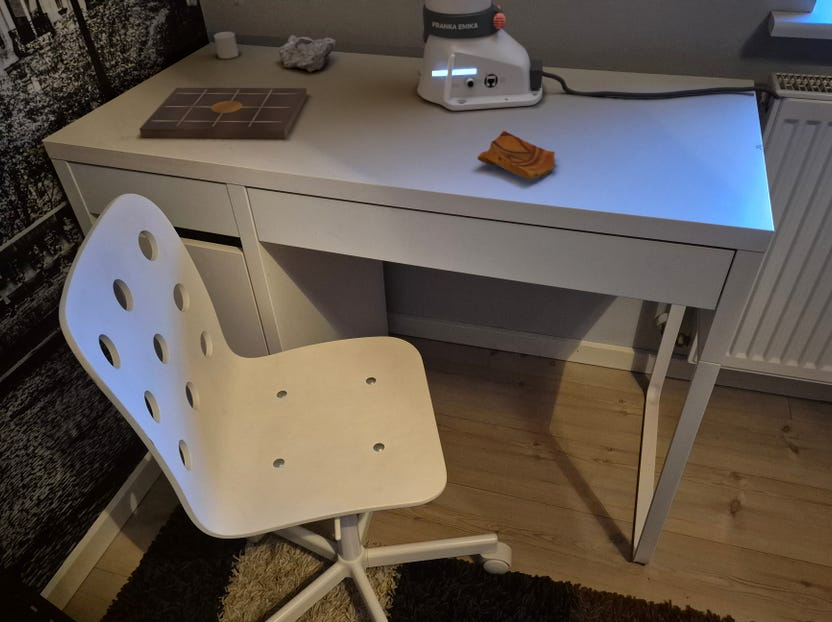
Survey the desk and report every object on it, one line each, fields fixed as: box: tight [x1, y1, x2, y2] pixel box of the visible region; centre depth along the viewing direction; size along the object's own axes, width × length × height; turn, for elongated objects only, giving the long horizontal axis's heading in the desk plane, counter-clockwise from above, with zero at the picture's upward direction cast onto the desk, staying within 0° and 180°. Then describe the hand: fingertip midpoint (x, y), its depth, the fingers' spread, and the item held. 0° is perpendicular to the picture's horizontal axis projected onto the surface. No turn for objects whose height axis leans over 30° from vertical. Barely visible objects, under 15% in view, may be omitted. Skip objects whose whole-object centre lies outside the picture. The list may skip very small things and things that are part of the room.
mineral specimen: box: [277, 34, 337, 72], centre depth 132 cm, size 6×11×12 cm
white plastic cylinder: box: [213, 31, 239, 60], centre depth 137 cm, size 4×4×4 cm
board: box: [139, 87, 308, 140], centre depth 115 cm, size 24×18×2 cm
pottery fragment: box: [477, 130, 556, 180], centre depth 97 cm, size 10×5×10 cm
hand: (215, 5), depth 132 cm, fingers open, 8 cm apart
